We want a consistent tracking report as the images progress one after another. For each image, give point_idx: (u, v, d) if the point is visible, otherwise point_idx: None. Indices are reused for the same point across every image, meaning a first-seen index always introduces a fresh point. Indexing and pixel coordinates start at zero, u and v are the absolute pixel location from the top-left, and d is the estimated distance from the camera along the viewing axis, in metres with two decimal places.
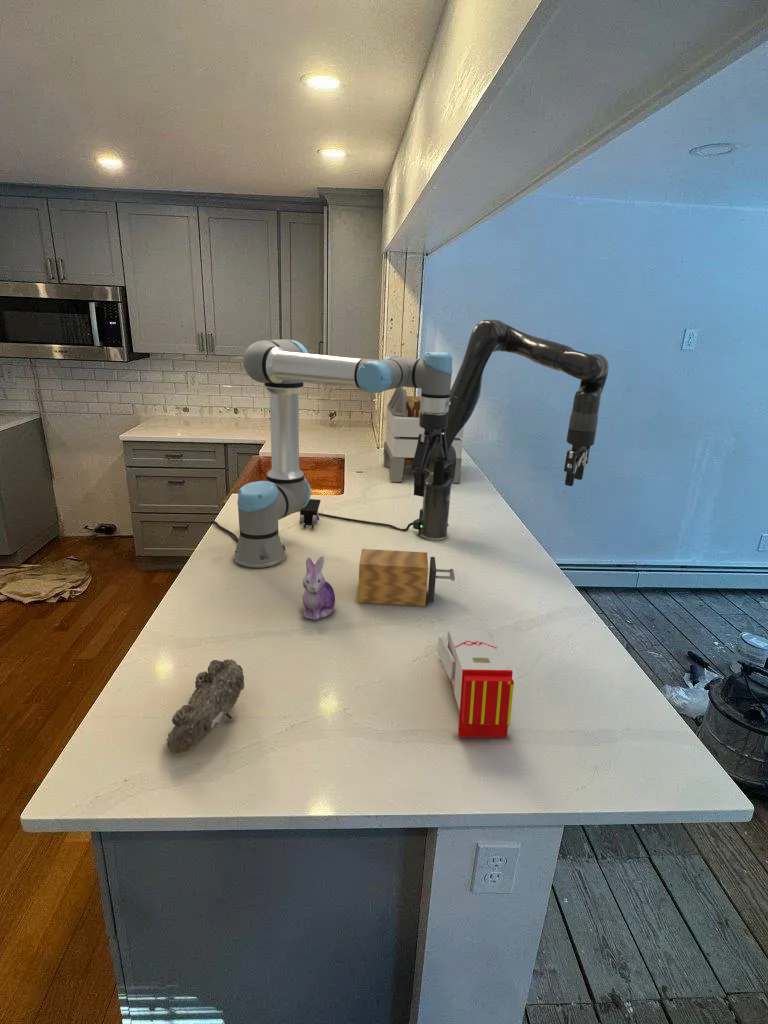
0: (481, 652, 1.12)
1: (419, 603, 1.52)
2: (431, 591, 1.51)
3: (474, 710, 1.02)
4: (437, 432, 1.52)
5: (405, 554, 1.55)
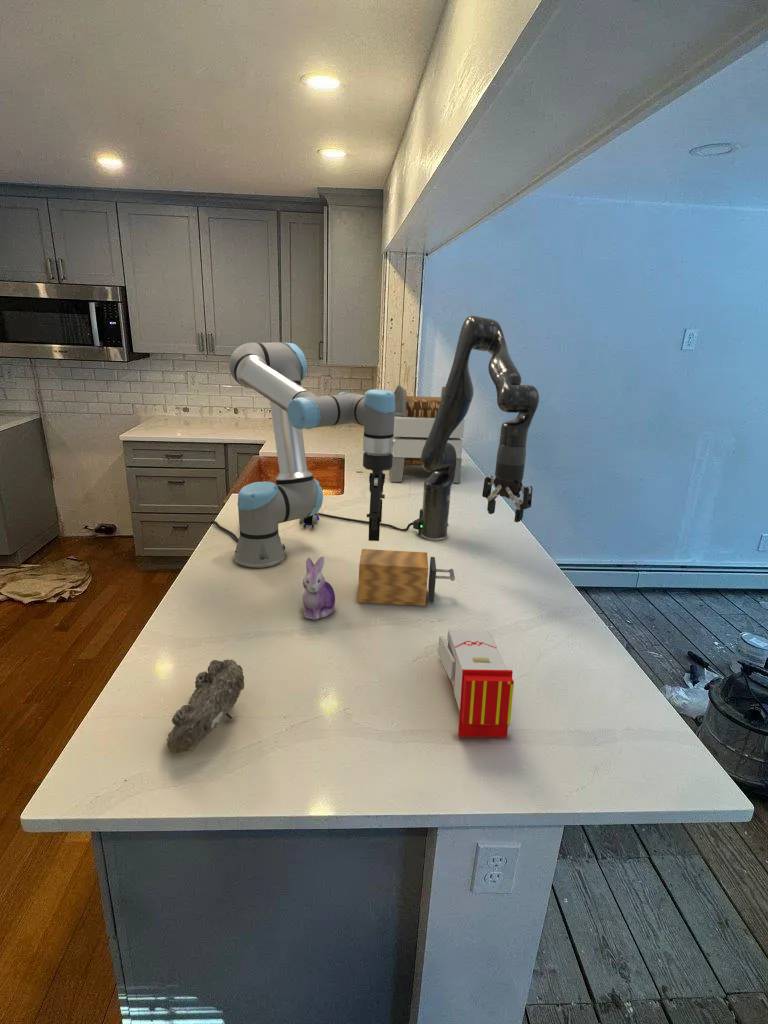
0: (481, 652, 1.12)
1: (419, 603, 1.52)
2: (431, 591, 1.51)
3: (474, 710, 1.02)
4: None
5: (405, 554, 1.55)
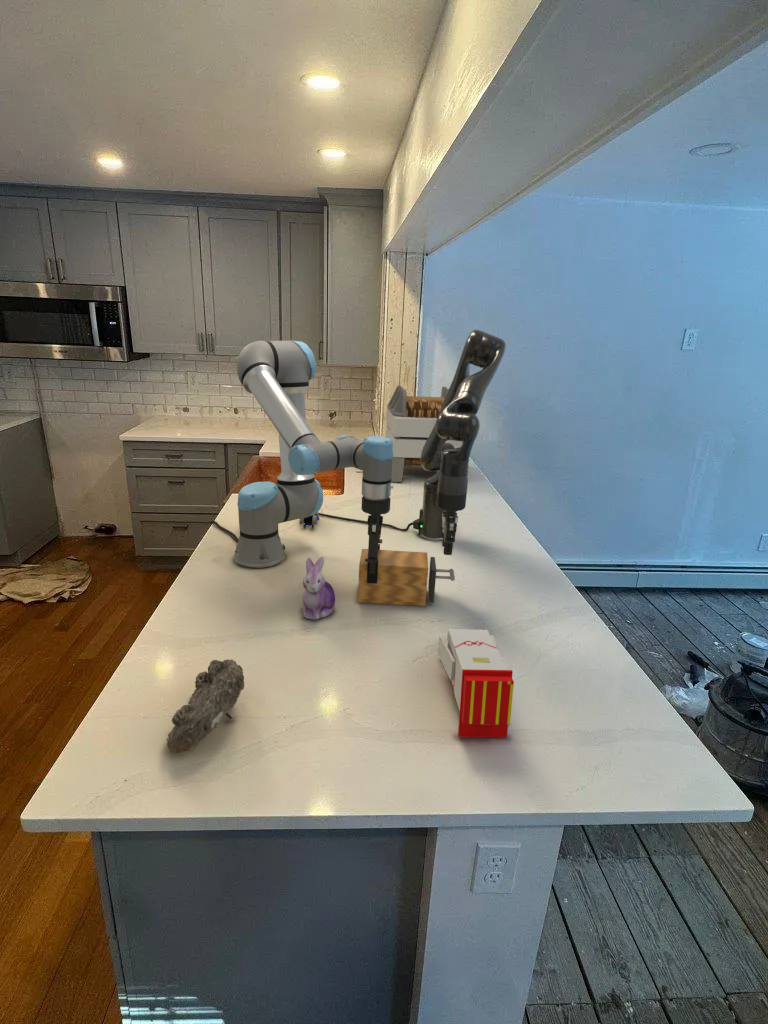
0: (481, 652, 1.12)
1: (419, 603, 1.52)
2: (431, 591, 1.51)
3: (474, 710, 1.02)
4: None
5: (405, 554, 1.55)
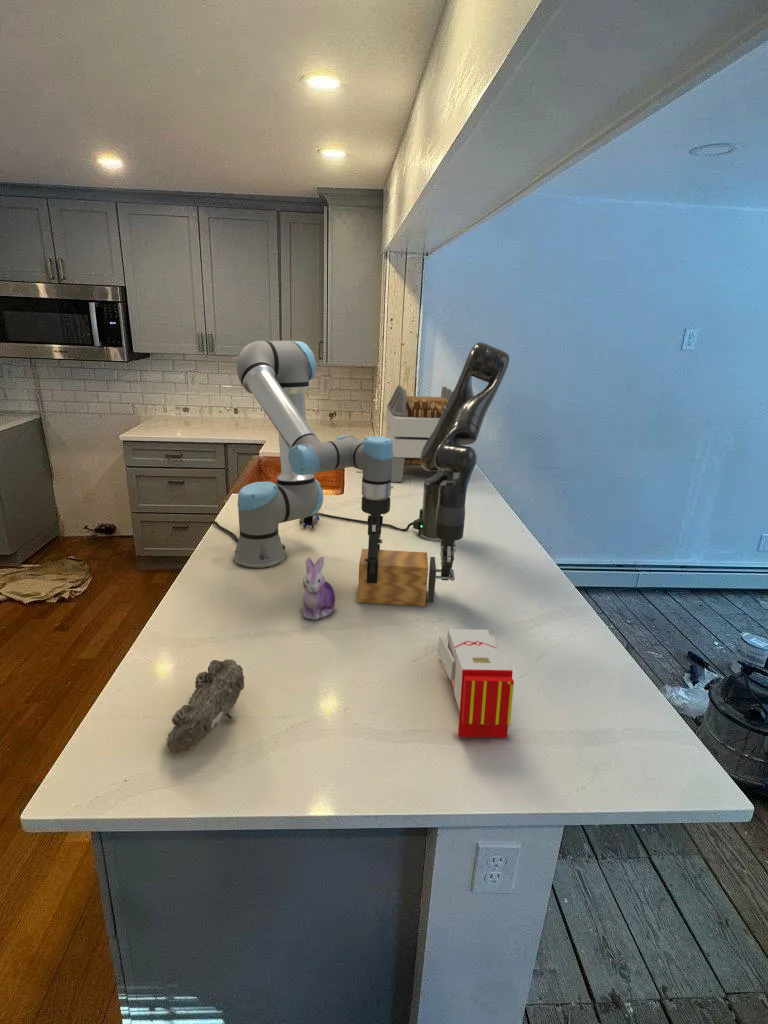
0: (481, 652, 1.12)
1: (419, 603, 1.52)
2: (431, 591, 1.51)
3: (474, 710, 1.02)
4: None
5: (405, 554, 1.55)
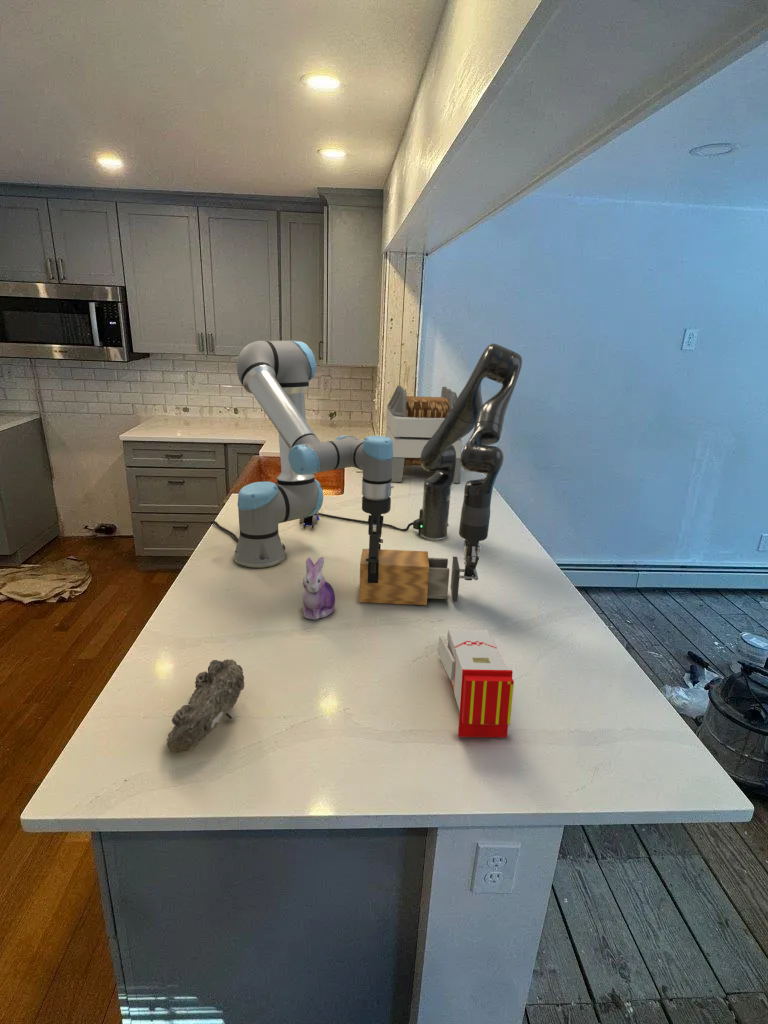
0: (481, 652, 1.12)
1: (420, 602, 1.52)
2: (455, 591, 1.51)
3: (474, 710, 1.02)
4: None
5: (406, 553, 1.55)
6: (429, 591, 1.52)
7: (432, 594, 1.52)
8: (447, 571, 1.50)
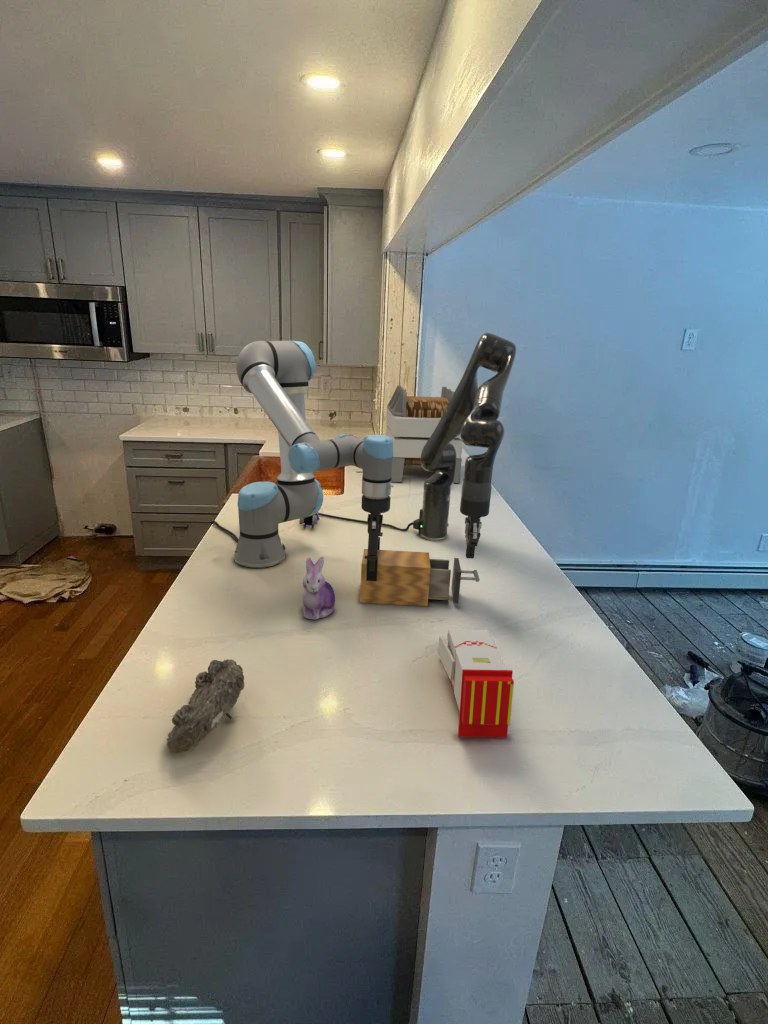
0: (481, 652, 1.12)
1: (421, 603, 1.52)
2: (456, 592, 1.51)
3: (474, 710, 1.02)
4: None
5: (407, 554, 1.55)
6: (430, 592, 1.52)
7: (433, 595, 1.53)
8: (448, 572, 1.50)
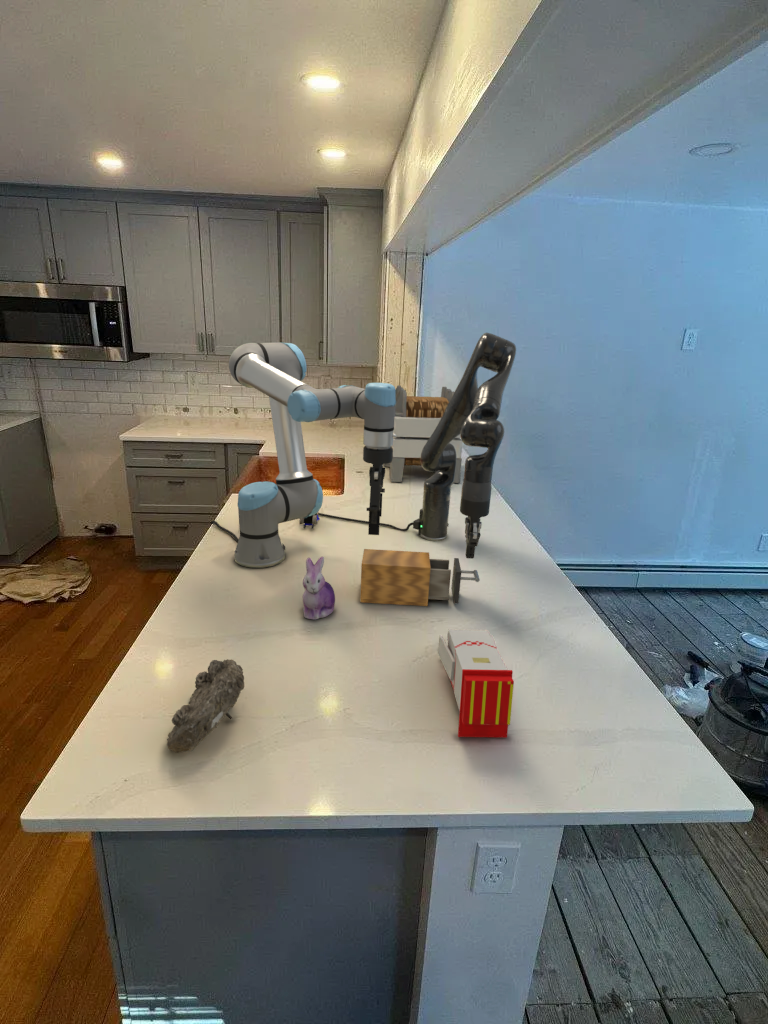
0: (481, 652, 1.12)
1: (421, 603, 1.52)
2: (456, 592, 1.51)
3: (474, 710, 1.02)
4: None
5: (407, 554, 1.55)
6: (430, 592, 1.52)
7: (433, 595, 1.53)
8: (448, 572, 1.50)
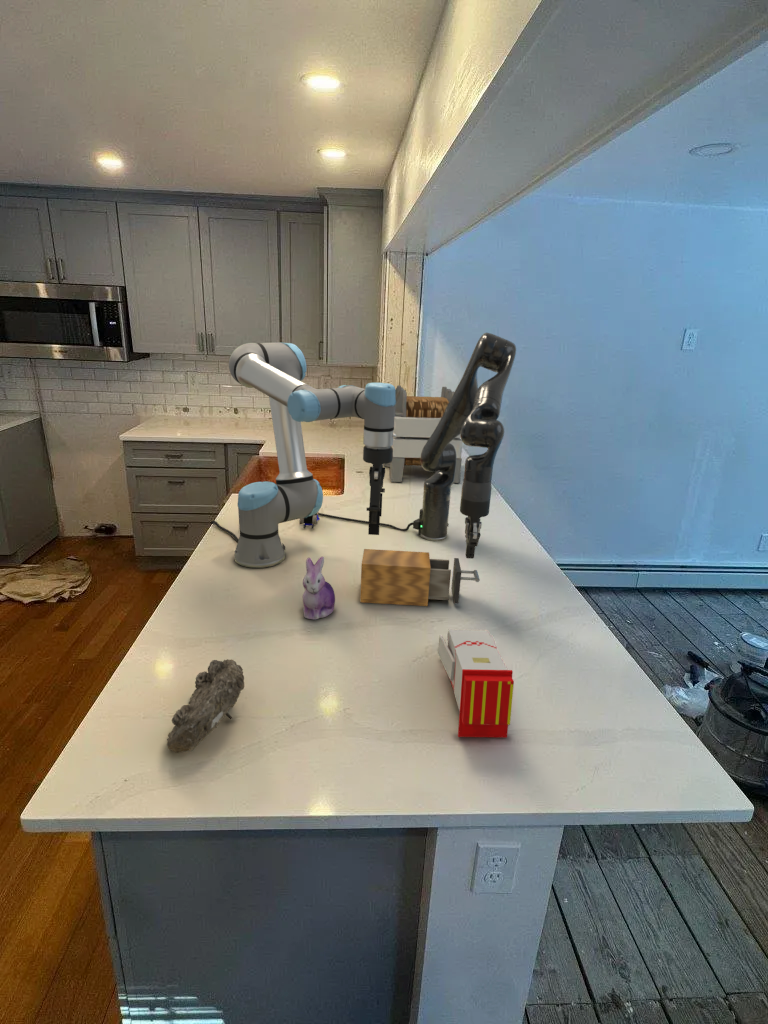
0: (481, 652, 1.12)
1: (421, 603, 1.52)
2: (456, 592, 1.51)
3: (474, 710, 1.02)
4: None
5: (407, 554, 1.55)
6: (430, 592, 1.52)
7: (433, 595, 1.53)
8: (448, 572, 1.50)
